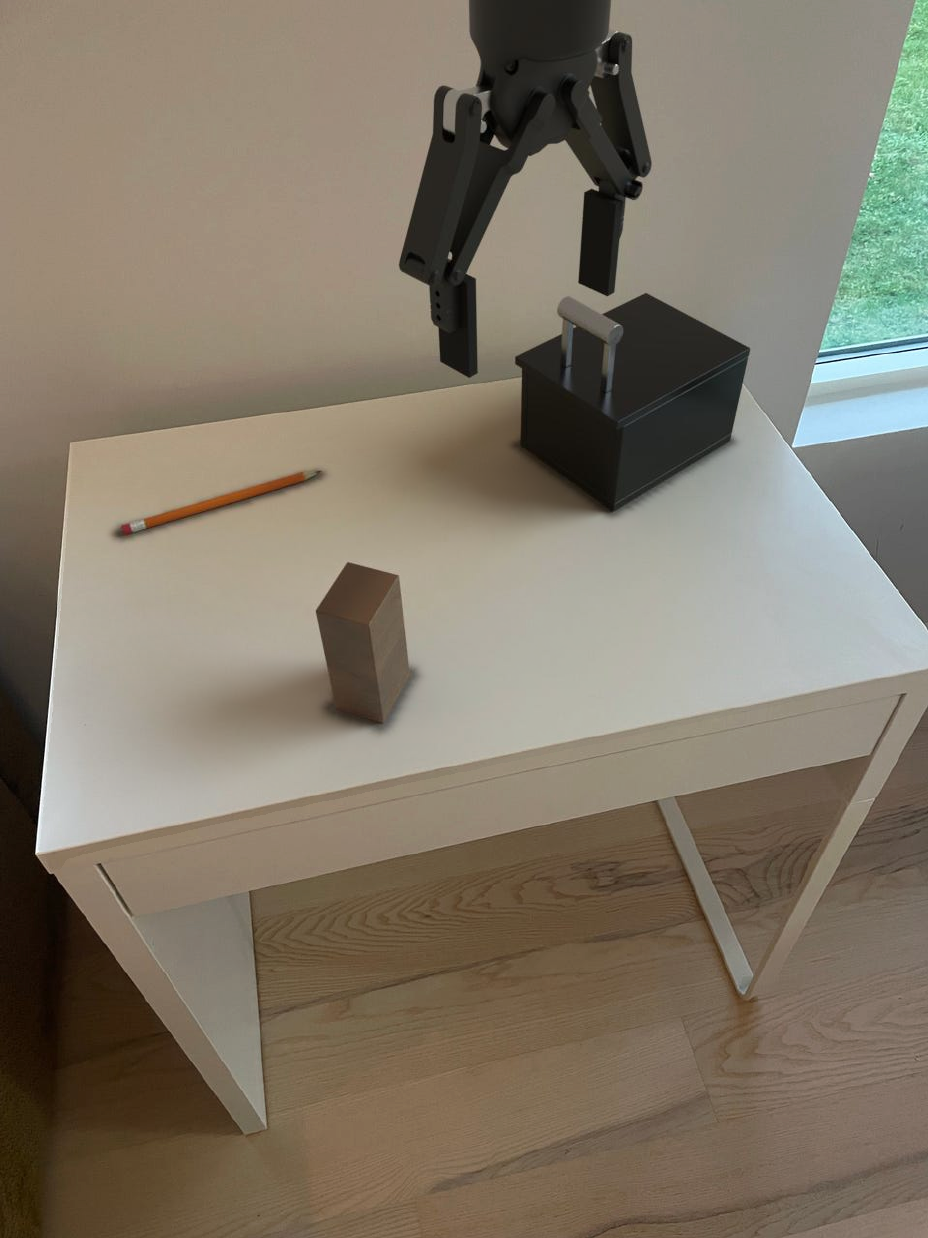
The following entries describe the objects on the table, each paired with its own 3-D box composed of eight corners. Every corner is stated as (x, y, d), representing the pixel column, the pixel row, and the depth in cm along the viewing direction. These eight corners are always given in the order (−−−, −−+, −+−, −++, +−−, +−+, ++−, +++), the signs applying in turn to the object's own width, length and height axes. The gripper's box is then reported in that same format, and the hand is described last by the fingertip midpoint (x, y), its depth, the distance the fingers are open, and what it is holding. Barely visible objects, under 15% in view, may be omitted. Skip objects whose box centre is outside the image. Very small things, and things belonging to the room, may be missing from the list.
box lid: (616, 430, 80) (624, 355, 75) (514, 364, 87) (515, 291, 81) (749, 355, 87) (765, 282, 81) (645, 299, 93) (653, 228, 88)
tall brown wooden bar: (410, 674, 75) (399, 574, 67) (383, 723, 72) (369, 625, 64) (363, 661, 76) (347, 561, 68) (335, 709, 73) (315, 610, 65)
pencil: (123, 530, 87) (120, 523, 87) (321, 471, 92) (320, 464, 92) (125, 536, 87) (122, 529, 86) (324, 477, 92) (323, 469, 91)
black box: (613, 512, 87) (623, 426, 80) (519, 445, 94) (521, 361, 87) (730, 441, 94) (749, 356, 87) (634, 383, 100) (645, 300, 94)
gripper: (636, -103, 57) (606, 241, 73) (304, -1, 46) (353, 381, 62) (743, -82, 54) (688, 276, 69) (411, 34, 42) (434, 430, 58)
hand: (530, 326), depth 66 cm, fingers open, 13 cm apart
